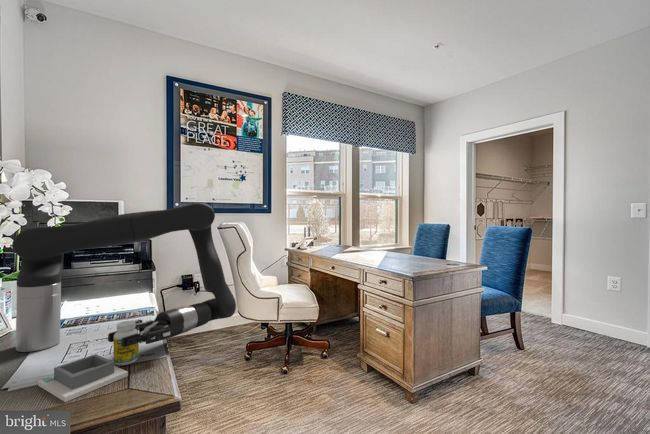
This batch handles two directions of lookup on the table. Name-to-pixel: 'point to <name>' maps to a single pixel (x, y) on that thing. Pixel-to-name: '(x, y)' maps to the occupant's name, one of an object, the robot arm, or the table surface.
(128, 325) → the supplement bottle
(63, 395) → the dock
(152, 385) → the table surface
